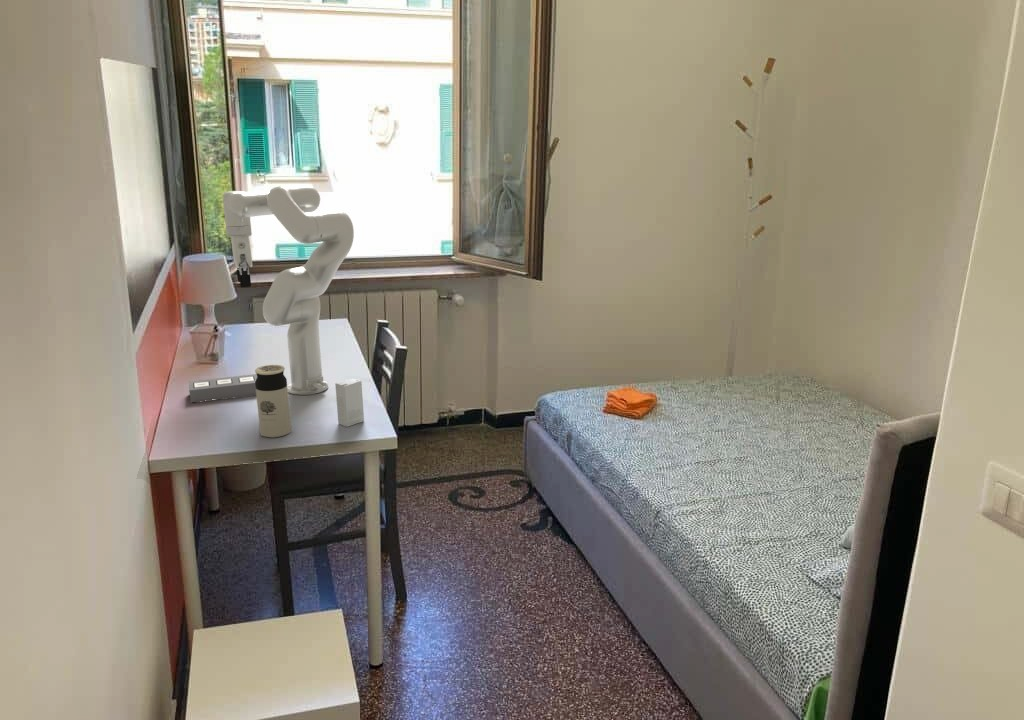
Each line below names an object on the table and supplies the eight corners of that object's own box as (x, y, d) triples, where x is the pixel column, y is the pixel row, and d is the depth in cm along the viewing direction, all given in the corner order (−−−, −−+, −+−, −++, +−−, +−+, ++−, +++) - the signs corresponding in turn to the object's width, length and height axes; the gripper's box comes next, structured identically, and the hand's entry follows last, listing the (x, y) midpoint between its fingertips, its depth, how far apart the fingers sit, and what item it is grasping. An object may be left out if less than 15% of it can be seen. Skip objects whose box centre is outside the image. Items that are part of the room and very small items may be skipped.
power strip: (262, 385, 247) (261, 373, 246) (265, 394, 239) (263, 381, 238) (190, 393, 239) (189, 381, 238) (190, 403, 231) (189, 390, 230)
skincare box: (355, 417, 219) (352, 377, 216) (365, 421, 217) (362, 380, 213) (337, 424, 215) (334, 382, 211) (347, 428, 212) (344, 385, 209)
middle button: (231, 386, 241) (230, 378, 240) (232, 390, 237) (231, 382, 236) (218, 388, 239) (217, 380, 239) (218, 392, 236) (217, 384, 235)
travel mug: (273, 425, 214) (267, 363, 209) (297, 429, 211) (291, 366, 206) (254, 435, 207) (247, 371, 202) (278, 440, 204) (272, 374, 199)
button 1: (209, 389, 238) (208, 381, 238) (209, 393, 235) (208, 385, 234) (195, 391, 237) (194, 383, 236) (195, 395, 233) (194, 387, 233)
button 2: (253, 384, 243) (252, 376, 242) (254, 388, 239) (253, 380, 239) (240, 385, 242) (239, 377, 241) (241, 389, 238) (240, 381, 237)
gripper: (254, 233, 240) (259, 288, 245) (248, 227, 255) (253, 278, 260) (228, 235, 237) (234, 290, 242) (224, 228, 252) (230, 280, 257)
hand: (244, 284), depth 251 cm, fingers open, 9 cm apart
